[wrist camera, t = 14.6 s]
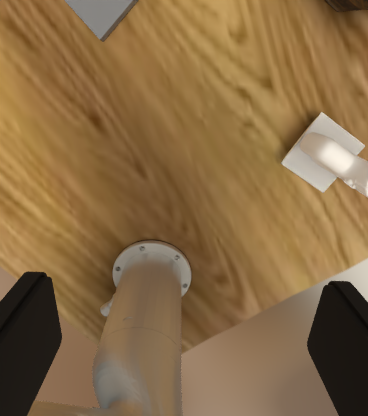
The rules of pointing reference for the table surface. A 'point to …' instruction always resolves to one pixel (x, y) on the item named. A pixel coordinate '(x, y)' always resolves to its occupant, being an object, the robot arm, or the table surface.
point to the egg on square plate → (101, 14)
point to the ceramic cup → (348, 5)
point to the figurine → (328, 156)
